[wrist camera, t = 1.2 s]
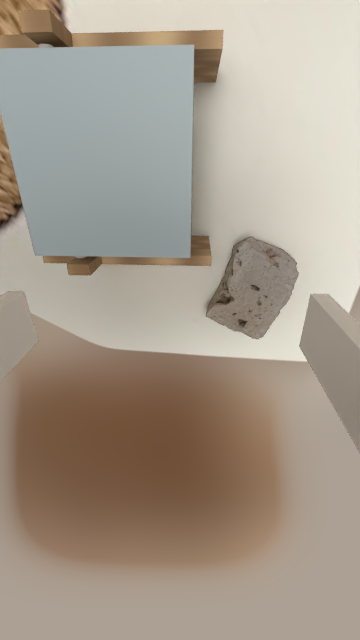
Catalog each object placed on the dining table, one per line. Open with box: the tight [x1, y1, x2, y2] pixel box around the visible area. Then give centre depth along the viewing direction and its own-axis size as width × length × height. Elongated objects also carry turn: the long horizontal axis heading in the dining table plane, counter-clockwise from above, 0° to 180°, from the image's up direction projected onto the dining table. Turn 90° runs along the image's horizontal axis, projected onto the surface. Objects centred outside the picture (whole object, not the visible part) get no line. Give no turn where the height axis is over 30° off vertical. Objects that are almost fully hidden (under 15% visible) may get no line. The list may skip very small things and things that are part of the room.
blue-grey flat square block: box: [0, 44, 194, 258], centre depth 25 cm, size 14×14×6 cm
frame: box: [0, 10, 223, 275], centre depth 27 cm, size 17×17×12 cm
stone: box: [206, 237, 299, 339], centre depth 37 cm, size 13×6×10 cm
